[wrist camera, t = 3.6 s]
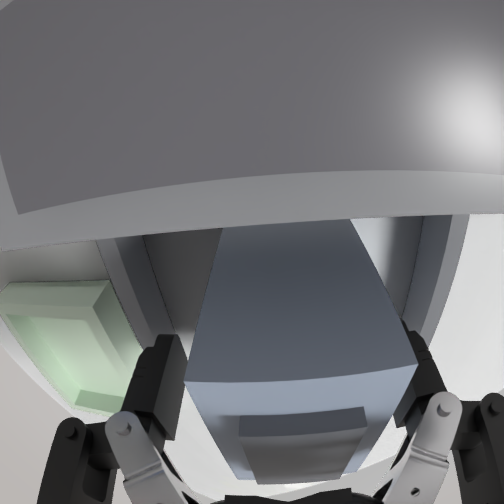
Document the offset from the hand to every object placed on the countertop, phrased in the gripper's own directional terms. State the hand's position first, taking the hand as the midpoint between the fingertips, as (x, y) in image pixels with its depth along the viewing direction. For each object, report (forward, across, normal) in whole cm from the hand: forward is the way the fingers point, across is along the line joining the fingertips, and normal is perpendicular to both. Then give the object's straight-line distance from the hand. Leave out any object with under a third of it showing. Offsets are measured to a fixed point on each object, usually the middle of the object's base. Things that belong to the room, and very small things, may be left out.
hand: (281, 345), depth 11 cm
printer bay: (+5, -1, -4) cm, 6 cm away
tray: (+5, +14, +6) cm, 17 cm away
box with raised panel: (+5, -1, 0) cm, 5 cm away
